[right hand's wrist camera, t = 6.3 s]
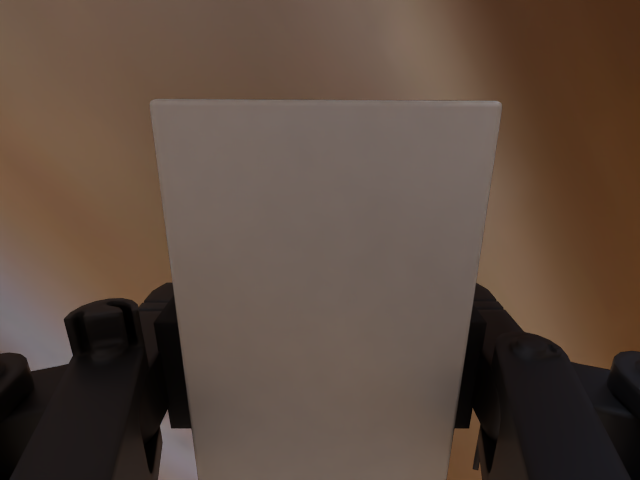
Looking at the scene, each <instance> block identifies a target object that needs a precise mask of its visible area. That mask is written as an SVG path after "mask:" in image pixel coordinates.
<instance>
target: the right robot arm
mask: <svg viewBox="0 0 640 480" xmlns="http://www.w3.org/2000/svg"><path fill="white" fill-rule="evenodd" d="M64 323H65V326H66V330H67V334H68V338H69V342H70V346H71V350H72V353H73V357H72V358H71V360H70V362H69V364H66V365H62V366H57V367H52V368H46V369H41V370H36V371H30V368H29V365H28V362H27V358H25V357H24V356H22V355H21V354H16V353H2V354H0V480H158V474H159V466H160V459H161V451H162V436H161V430H160V424H161V422H162V420H163V418H164V416H165V414H166V412H167V410H168V413H169V419H170V424H171V428H191V420H190V413H189V405H188V397H187V390H186V382H185V374H184V367H183V359H182V351H181V344H180V336H179V328H178V320H177V313H176V305H175V297H174V290H173V283H165V284H164V285H162V286H160V287H159V288H157V289H155V290H153V291H152V292H151V293H150V295H149V296H148V297H147V298H146V299H145V300H144V303H142V304H141V305H140V306H139V308H138V304H137V303H135V302H134V301H132V300H129V299H124V298H112V299H105V300H99V301H95V302H92V303H89V304H86V305H83V306H81V307H79V308H77V309H76V310H74V311H72V312H70V313H69V314H68V315H67V316H66V317H65V318H64ZM472 408H473V409H474V411H475V413H476V415H477V417H478V419H479V422H480V430H479V435H478V441H477V446H476V452H475V458H474V464H473V469H475V470H478V468H479V463H480V465H481V473H482V480H640V352H637V351H626V352H620V353H619V354H617V355H616V356H615V357H614V360H613V363H612V366H611V369H610V370H609V369H603V368H598V367H593V366H588V365H582V364H578V363H574V362H570V360H569V358H568V356H567V354H566V353H565V352H564V351H563V350H562V348H561V347H559V346H558V345H556V344H555V343H553V342H552V341H550V340H548V339H546V338H543V337H541V336H538V335H535V334H531V333H526V332H524V331H523V330H522V329H521V328H520V327H519V325H518V324H517V323H516V322H515V321H514V320H513V318H512V317H511V316H510V315H509V314H508V313H507V311H506V310H503V307H502V306H501V304H500V303H499V302H498V301H496V299H495V297H494V296H493V295H492V294H491V293H490V292H489V290H488V289H486V288H484V287H482V286H481V285H479V284H477V283H476V286H475V293H474V300H473V306H472V313H471V320H470V326H469V333H468V340H467V346H466V353H465V360H464V366H463V373H462V380H461V386H460V393H459V400H458V406H457V413H456V420H455V426H454V428H469V426H470V420H471V414H472Z"/></svg>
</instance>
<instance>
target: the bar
mask: <svg viewBox="0 0 640 480" xmlns="http://www.w3.org/2000/svg"><path fill="white" fill-rule="evenodd" d="M150 113H151V121H152V128H153V136H154V144H155V152H156V159H157V167H158V175H159V182H160V190H161V198H162V205H163V213H164V221H165V228H166V236H167V244H168V251H169V259H170V267H171V274H172V282H173V290H174V297H175V305H176V313H177V320H178V328H179V336H180V344H181V351H182V359H183V367H184V374H185V382H186V390H187V397H188V405H189V413H190V420H191V428H192V436H193V443H194V451H195V459H196V466H197V474H198V480H447V473H448V466H449V460H450V453H451V446H452V440H453V433H454V426H455V420H456V413H457V406H458V400H459V393H460V386H461V380H462V373H463V366H464V360H465V353H466V346H467V340H468V333H469V326H470V320H471V313H472V306H473V300H474V293H475V286H476V279H477V273H478V266H479V259H480V253H481V246H482V239H483V233H484V226H485V219H486V213H487V206H488V199H489V193H490V186H491V179H492V173H493V166H494V159H495V153H496V146H497V139H498V133H499V126H500V119H501V113H502V104H501V103H500V102H498V101H448V100H272V99H154V100H152V101H150Z"/></svg>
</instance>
